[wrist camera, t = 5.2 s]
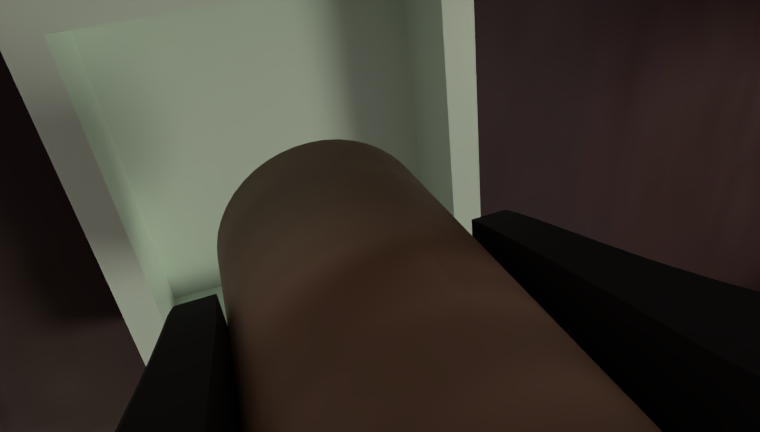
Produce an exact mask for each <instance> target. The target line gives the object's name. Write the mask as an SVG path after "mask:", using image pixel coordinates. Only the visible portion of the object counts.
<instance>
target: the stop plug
mask: <svg viewBox="0 0 760 432" xmlns="http://www.w3.org/2000/svg"><path fill="white" fill-rule="evenodd" d="M217 256H218V265H219V271H220V278H221V285H222V292H223V299H224V306H225V312H226V319H227V326H228V331H229V338H230V345H231V351H232V358H233V365H234V372H235V380H236V388H237V395H238V402H239V408H240V415H241V422H242V429H243V432H662V431H661V430H660V429H659V428H658V427H657V426H656V425H655V424H654V423H653V422H652V420H651V419H650V418H649V417H648V416H647V415H646V414H645V413H644V412H643V411H642V410H641V409H640V408H639V407H638V406H637V405H636V404H635V403H634V402H633V401H632V400H631V399H630V398H629V397H628V396H627V395H626V394H625V393H624V392H623V391H622V390H621V389H620V388H619V386H618V385H617V384H616V383H615V382H614V381H613V380H612V379H611V378H610V377H609V376H608V375H607V374H606V373H605V372H604V371H603V370H602V369H601V368H600V367H599V366H598V365H597V364H596V363H595V362H594V361H593V360H592V359H591V358H590V357H589V356H588V355H587V353H586V352H585V351H584V350H583V349H582V348H581V347H580V346H579V345H578V344H577V343H576V342H575V341H574V340H573V339H572V338H571V337H570V336H569V335H568V334H567V333H566V332H565V331H564V330H563V329H562V328H561V327H560V326H559V325H558V324H557V323H556V322H555V321H554V319H553V318H552V317H551V316H550V315H549V314H548V313H547V312H546V311H545V310H544V309H543V308H542V307H541V306H540V305H539V304H538V303H537V302H536V301H535V300H534V299H533V298H532V297H531V296H530V295H529V294H528V293H527V292H526V291H525V290H524V289H523V288H522V287H521V285H520V284H519V283H518V282H517V281H516V280H515V279H514V278H513V277H512V276H511V275H510V274H509V273H508V272H507V271H506V270H505V269H504V268H503V267H502V266H501V265H500V264H499V263H498V262H497V261H496V260H495V259H494V258H493V257H492V256H491V255H490V254H489V253H488V251H487V250H486V249H485V248H484V247H483V246H482V245H481V244H480V243H479V242H478V241H477V240H476V239H475V238H474V237H473V236H472V235H471V234H470V233H469V232H468V231H467V230H466V229H465V228H464V227H463V226H462V225H461V224H460V223H459V222H458V221H457V220H456V218H455V217H454V216H453V215H452V214H451V213H450V212H449V211H448V210H447V209H446V208H445V207H444V206H443V205H442V204H441V203H440V202H439V201H438V200H437V199H436V198H435V197H434V196H433V195H432V194H431V193H430V192H429V191H428V190H427V189H426V188H425V187H424V186H423V184H422V183H421V182H420V181H419V180H418V179H417V178H416V177H415V176H414V175H413V174H412V173H411V172H410V171H409V170H408V169H407V168H406V167H405V166H404V165H403V164H402V163H401V162H400V161H399V160H397V159H396V158H395V157H393V156H392V155H391V154H389V153H387V152H385V151H383V150H382V149H380V148H377V147H375V146H372V145H369V144H367V143H362V142H358V141H353V140H342V139H333V140H320V141H314V142H309V143H305V144H302V145H299V146H295V147H293V148H290V149H288V150H286V151H284V152H281V153H279V154H278V155H276V156H274V157H272V158H271V159H269V160H267V161H266V162H265V163H263V164H262V165H261V166H259V167H258V168H257V169H256V170H254V171H253V172H252V173H251V174H250V175H249V176H248V177H247V178H246V179H245V180H244V181H243V182H242V184H241V185H240V186H239V187H238V189H237V190H236V191H235V193H234V194H233V196H232V198H231V199H230V201H229V203H228V205H227V206H226V209H225V211H224V214H223V216H222V219H221V222H220V226H219V231H218V238H217Z"/></svg>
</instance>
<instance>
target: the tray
mask: <svg viewBox="0 0 760 432" xmlns="http://www.w3.org/2000/svg"><path fill="white" fill-rule="evenodd" d="M0 51H1V53H2V56H3V58H4V60H5V62H6V64H7V66H8V69H9V71H10V73H11V75H12V77H13V79H14V82H15V84H16V86H17V88H18V90H19V92H20V95H21V97H22V99H23V101H24V103H25V105H26V108H27V110H28V112H29V114H30V116H31V118H32V121H33V123H34V125H35V127H36V129H37V131H38V134H39V136H40V138H41V140H42V142H43V144H44V147H45V149H46V151H47V153H48V155H49V157H50V160H51V162H52V164H53V166H54V168H55V170H56V173H57V175H58V177H59V179H60V181H61V183H62V186H63V188H64V190H65V192H66V194H67V196H68V199H69V201H70V203H71V205H72V207H73V209H74V212H75V214H76V216H77V218H78V220H79V222H80V225H81V227H82V229H83V231H84V233H85V235H86V238H87V240H88V242H89V244H90V246H91V248H92V251H93V253H94V255H95V257H96V259H97V261H98V264H99V266H100V268H101V270H102V272H103V274H104V277H105V279H106V281H107V283H108V285H109V287H110V290H111V292H112V294H113V296H114V298H115V300H116V303H117V305H118V307H119V309H120V311H121V313H122V316H123V318H124V320H125V322H126V324H127V326H128V329H129V331H130V333H131V335H132V337H133V339H134V342H135V344H136V346H137V348H138V350H139V352H140V355H141V357H142V359H143V361H144V363H145V365H146V366H147V363H148V361H149V359H150V357H151V354H152V352H153V350H154V347H155V345H156V343H157V340H158V338H159V335H160V333H161V330H162V328H163V325H164V323H165V320H166V318H167V315H168V314H169V312H170V311H171V309H172V308H173V306H176V305H179V304H182V303H186V302H189V301H193V300H196V299H200V298H203V297H207V296H210V295H213V294H217V296H218V299H219V302H220V305H221V308H222V311H223V314H224V317H225V320H226V323H227V319H226V312H225V306H224V299H223V292H222V285H221V278H220V271H219V265H218V256H217V238H218V231H219V226H220V222H221V219H222V216H223V214H224V211H225V209H226V206H227V205H228V203H229V201H230V199H231V198H232V196H233V194H234V193H235V191H236V190H237V189H238V187H239V186H240V185H241V184H242V182H243V181H244V180H245V179H246V178H247V177H248V176H249V175H250V174H251V173H252V172H253V171H254V170H256V169H257V168H258V167H259V166H261V165H262V164H263V163H265V162H266V161H267V160H269V159H271V158H272V157H274V156H276V155H278V154H279V153H281V152H284V151H286V150H288V149H290V148H293V147H295V146H299V145H302V144H305V143H309V142H314V141H320V140H333V139H342V140H353V141H358V142H362V143H367V144H369V145H372V146H375V147H377V148H380V149H382V150H383V151H385V152H387V153H389V154H391V155H392V156H393V157H395V158H396V159H397V160H399V161H400V162H401V163H402V164H403V165H404V166H405V167H406V168H407V169H408V170H409V171H410V172H411V173H412V174H413V175H414V176H415V177H416V178H417V179H418V180H419V181H420V182H421V183H422V184H423V186H424V187H425V188H426V189H427V190H428V191H429V192H430V193H431V194H432V195H433V196H434V197H435V198H436V199H437V200H438V201H439V202H440V203H441V204H442V205H443V206H444V207H445V208H446V209H447V210H448V211H449V212H450V213H451V214H452V215H453V216H454V217H455V218H456V220H457V221H458V222H459V223H460V224H461V225H462V226H463V227H464V228H465V229H466V230H467V231H468V232H469V233H470V234H471V235H472V219H475V218H479V217H481V214H480V183H479V151H478V119H477V87H476V56H475V24H474V0H0Z"/></svg>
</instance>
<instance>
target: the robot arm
mask: <svg viewBox="0 0 760 432" xmlns="http://www.w3.org/2000/svg"><path fill="white" fill-rule="evenodd" d="M472 236H473V237H474V238H475V239H476V240H477V241H478V242H479V243H480V244H481V245H482V246H483V247H484V248H485V249H486V250H487V251H488V253H489V254H490V255H491V256H492V257H493V258H494V259H495V260H496V261H497V262H498V263H499V264H500V265H501V266H502V267H503V268H504V269H505V270H506V271H507V272H508V273H509V274H510V275H511V276H512V277H513V278H514V279H515V280H516V281H517V282H518V283H519V284H520V285H521V287H522V288H523V289H524V290H525V291H526V292H527V293H528V294H529V295H530V296H531V297H532V298H533V299H534V300H535V301H536V302H537V303H538V304H539V305H540V306H541V307H542V308H543V309H544V310H545V311H546V312H547V313H548V314H549V315H550V316H551V317H552V318H553V319H554V321H555V322H556V323H557V324H558V325H559V326H560V327H561V328H562V329H563V330H564V331H565V332H566V333H567V334H568V335H569V336H570V337H571V338H572V339H573V340H574V341H575V342H576V343H577V344H578V345H579V346H580V347H581V348H582V349H583V350H584V351H585V352H586V353H587V355H588V356H589V357H590V358H591V359H592V360H593V361H594V362H595V363H596V364H597V365H598V366H599V367H600V368H601V369H602V370H603V371H604V372H605V373H606V374H607V375H608V376H609V377H610V378H611V379H612V380H613V381H614V382H615V383H616V384H617V385H618V386H619V388H620V389H621V390H622V391H623V392H624V393H625V394H626V395H627V396H628V397H629V398H630V399H631V400H632V401H633V402H634V403H635V404H636V405H637V406H638V407H639V408H640V409H641V410H642V411H643V412H644V413H645V414H646V415H647V416H648V417H649V418H650V419H651V420H652V422H653V423H654V424H655V425H656V426H657V427H658V428H659V429H660V430H661V431H662V432H760V292H758V291H754V290H750V289H747V288H743V287H739V286H735V285H732V284H728V283H725V282H721V281H718V280H714V279H711V278H708V277H704V276H701V275H698V274H695V273H691V272H688V271H685V270H681V269H678V268H675V267H671V266H668V265H665V264H662V263H659V262H656V261H653V260H650V259H647V258H644V257H641V256H638V255H635V254H632V253H629V252H627V251H624V250H621V249H618V248H615V247H612V246H610V245H607V244H604V243H601V242H598V241H596V240H593V239H590V238H587V237H584V236H582V235H579V234H576V233H574V232H571V231H568V230H565V229H563V228H560V227H557V226H554V225H551V224H549V223H546V222H543V221H540V220H537V219H534V218H531V217H528V216H525V215H522V214H519V213H516V212H512V211H508V210H503V211H500V212H496V213H493V214H489V215H486V216H482V217H479V218H475V219H472ZM115 432H243V429H242V422H241V415H240V408H239V402H238V395H237V388H236V380H235V372H234V365H233V358H232V351H231V345H230V338H229V331H228V326H227V323H226V320H225V317H224V314H223V311H222V308H221V305H220V302H219V299H218V296H217V294H213V295H210V296H207V297H203V298H200V299H196V300H193V301H189V302H186V303H182V304H179V305H176V306H173V308H172V309H171V311H170V312H169V314H168V315H167V318H166V320H165V323H164V325H163V328H162V330H161V333H160V335H159V338H158V340H157V343H156V345H155V347H154V350H153V352H152V354H151V357H150V359H149V361H148V363H147V366H146V368H145V370H144V372H143V375H142V377H141V379H140V381H139V383H138V386H137V388H136V390H135V392H134V394H133V396H132V398H131V400H130V402H129V404H128V406H127V408H126V410H125V412H124V414H123V416H122V418H121V421H120V423H119V425H118V427H117V429H116V431H115Z"/></svg>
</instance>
